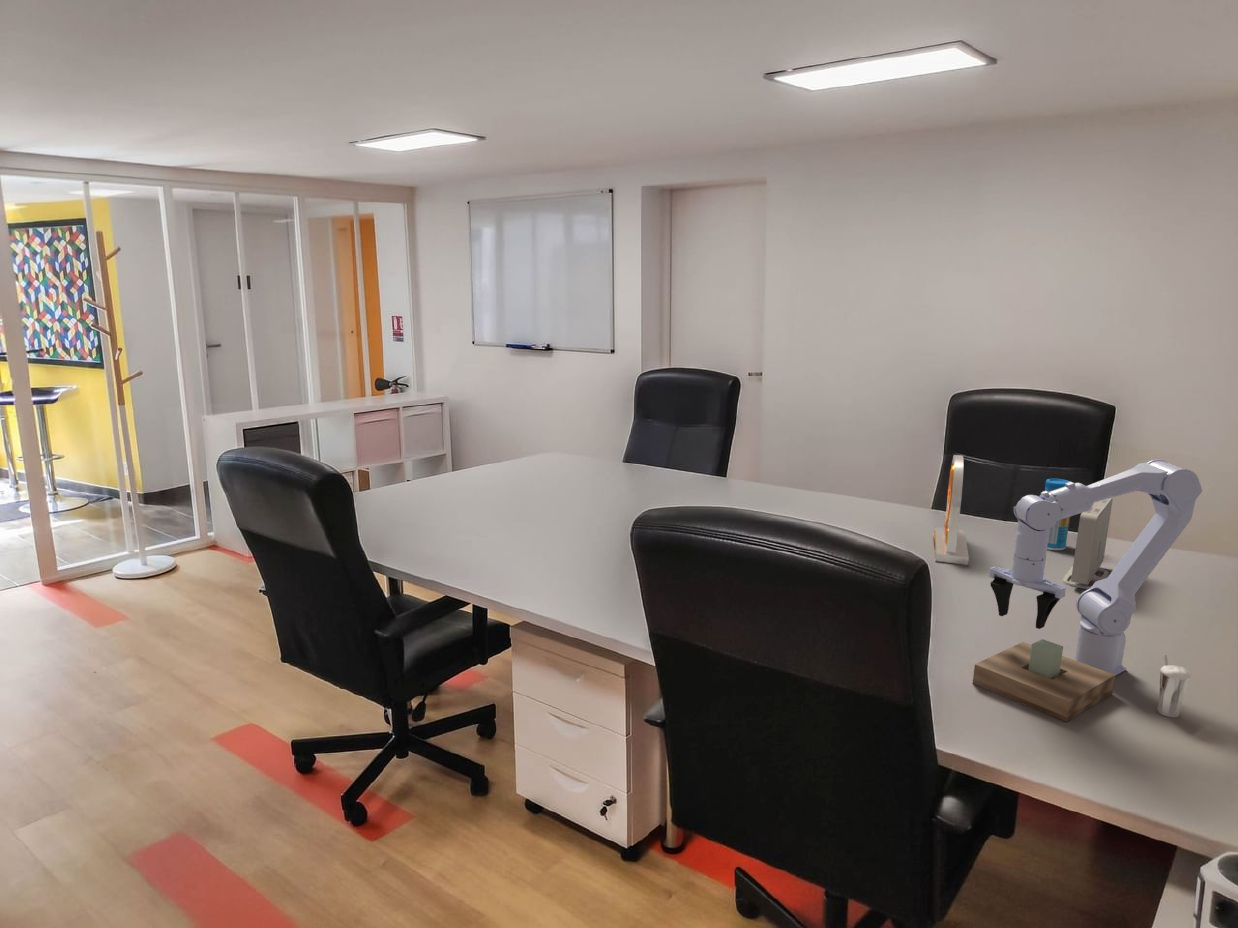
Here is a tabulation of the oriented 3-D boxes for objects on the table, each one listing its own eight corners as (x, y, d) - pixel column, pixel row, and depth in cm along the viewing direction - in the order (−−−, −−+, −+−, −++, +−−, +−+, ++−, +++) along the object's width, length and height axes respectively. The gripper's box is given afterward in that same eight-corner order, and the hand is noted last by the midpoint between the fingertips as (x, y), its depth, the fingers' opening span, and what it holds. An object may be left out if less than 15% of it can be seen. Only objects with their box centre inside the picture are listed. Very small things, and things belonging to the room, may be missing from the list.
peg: (1037, 677, 166) (1042, 639, 164) (1057, 685, 163) (1063, 646, 161) (1026, 682, 164) (1031, 644, 162) (1047, 690, 161) (1053, 651, 159)
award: (932, 533, 262) (941, 445, 256) (963, 537, 260) (973, 448, 254) (933, 561, 237) (943, 464, 231) (967, 565, 234) (978, 467, 228)
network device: (1096, 595, 213) (1107, 518, 209) (1057, 587, 218) (1068, 512, 214) (1111, 569, 233) (1122, 498, 229) (1076, 562, 238) (1086, 493, 234)
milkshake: (1168, 704, 158) (1177, 655, 156) (1188, 719, 153) (1198, 668, 151) (1145, 704, 158) (1153, 655, 156) (1164, 719, 153) (1173, 668, 151)
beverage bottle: (1036, 549, 249) (1045, 482, 245) (1032, 541, 257) (1040, 476, 252) (1068, 552, 247) (1078, 485, 242) (1063, 544, 254) (1072, 479, 250)
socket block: (1020, 659, 176) (1023, 641, 175) (1112, 694, 162) (1115, 674, 161) (972, 683, 165) (974, 664, 165) (1066, 722, 151) (1069, 701, 151)
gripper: (984, 550, 171) (976, 613, 174) (1056, 570, 160) (1047, 638, 163) (1002, 544, 175) (995, 606, 178) (1074, 563, 164) (1065, 629, 167)
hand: (1021, 620), depth 171 cm, fingers open, 7 cm apart
